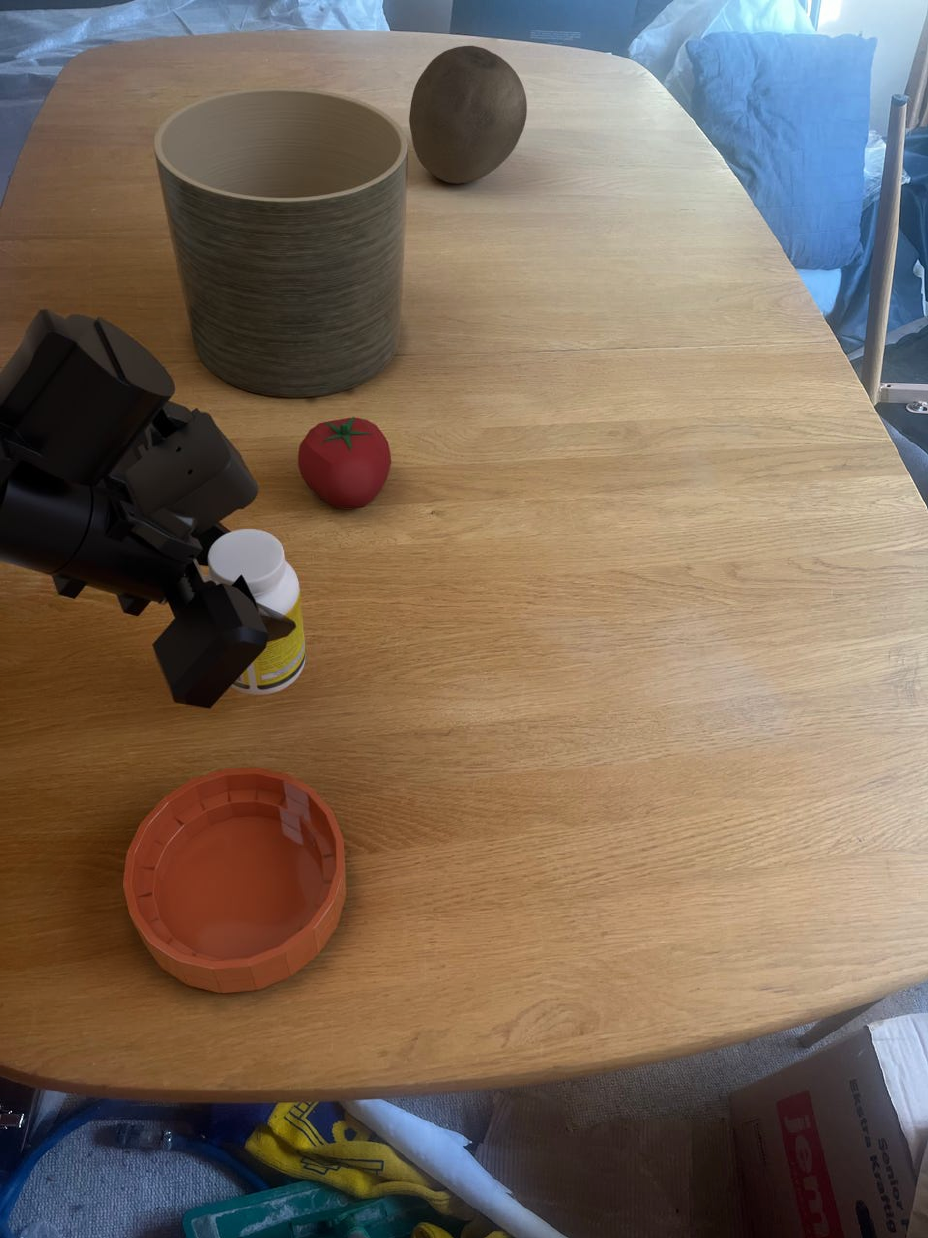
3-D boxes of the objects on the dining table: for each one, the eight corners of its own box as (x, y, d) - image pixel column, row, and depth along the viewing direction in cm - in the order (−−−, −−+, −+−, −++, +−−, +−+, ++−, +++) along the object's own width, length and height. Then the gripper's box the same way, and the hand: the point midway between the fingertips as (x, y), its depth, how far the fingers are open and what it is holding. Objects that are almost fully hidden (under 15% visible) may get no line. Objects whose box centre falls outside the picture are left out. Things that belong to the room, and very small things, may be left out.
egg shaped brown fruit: (454, 214, 119) (462, 85, 107) (386, 168, 125) (387, 41, 114) (538, 186, 125) (555, 61, 113) (470, 143, 131) (479, 20, 120)
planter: (442, 365, 99) (453, 170, 83) (239, 427, 90) (210, 223, 75) (345, 260, 110) (340, 72, 95) (158, 306, 102) (117, 108, 86)
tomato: (287, 481, 86) (280, 417, 80) (361, 449, 89) (360, 385, 84) (335, 534, 82) (332, 471, 77) (411, 499, 86) (413, 435, 80)
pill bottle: (311, 631, 70) (303, 522, 62) (300, 700, 66) (290, 594, 58) (225, 626, 70) (205, 516, 61) (209, 696, 66) (186, 588, 57)
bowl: (165, 1031, 56) (151, 1005, 52) (119, 841, 63) (104, 807, 60) (375, 945, 60) (375, 916, 56) (309, 776, 67) (305, 741, 64)
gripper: (208, 528, 44) (416, 610, 56) (99, 312, 54) (296, 421, 66) (71, 690, 47) (297, 733, 59) (-8, 457, 57) (199, 535, 69)
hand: (273, 595), depth 63 cm, fingers closed on pill bottle, 6 cm apart
